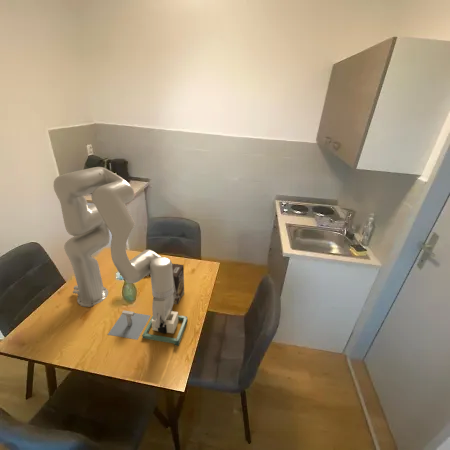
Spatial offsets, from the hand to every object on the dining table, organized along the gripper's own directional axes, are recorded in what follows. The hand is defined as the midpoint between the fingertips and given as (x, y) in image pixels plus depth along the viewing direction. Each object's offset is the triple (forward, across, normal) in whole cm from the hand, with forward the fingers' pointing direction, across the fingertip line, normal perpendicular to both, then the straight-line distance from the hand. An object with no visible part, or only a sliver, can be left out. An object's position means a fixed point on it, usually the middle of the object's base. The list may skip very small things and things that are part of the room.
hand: (165, 325), depth 98 cm
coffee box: (+3, -18, -2) cm, 18 cm away
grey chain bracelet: (+3, -36, -22) cm, 42 cm away
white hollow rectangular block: (0, 0, 0) cm, 0 cm away
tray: (+3, 0, 0) cm, 3 cm away
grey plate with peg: (+3, +1, -14) cm, 15 cm away
